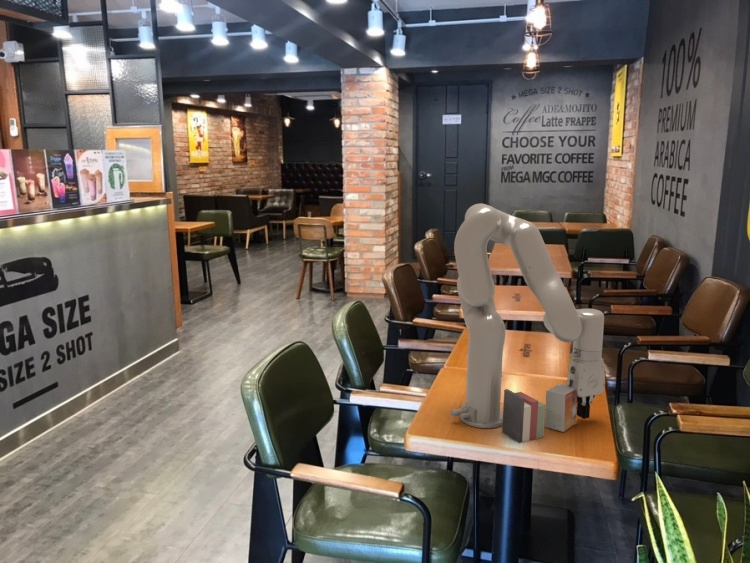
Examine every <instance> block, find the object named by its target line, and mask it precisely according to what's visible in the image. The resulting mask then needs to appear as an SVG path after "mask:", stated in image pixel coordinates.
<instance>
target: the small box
mask: <svg viewBox="0 0 750 563" xmlns="http://www.w3.org/2000/svg"><path fill="white" fill-rule="evenodd" d="M576 424H577V396H576V395H575V390H574V389H573V388H572V387H571V386H569V387H568V386H567V384H562V383H558V384H557V385H555V386H553V387H551V388H550V389H547V390H545V419H544V428H548V429H551V430H555V431H559V432H563V433H565V432H566V431H567V430H569V429H570V428H572V427H573V426H575V425H576Z"/></svg>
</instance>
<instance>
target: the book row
mask: <svg viewBox="0 0 750 563" xmlns="http://www.w3.org/2000/svg"><path fill="white" fill-rule="evenodd" d="M502 413H503V425H501V426H502V430H501V433H503V434H504V435H506V436H508V437H509V438H510V439H512V440H514V441H516V442H517V443H518V444H522V443H524V442H525V443H526V442H529V441H532V440H538V439H541V438H544V434H545V433H544V432H545V413H546V403H545V404H544V403H542V401H539V400H538V399H536V398H534V397H531V396H530V395H528V394H526V393H524V392H522V391H518V392H517V391H516V392H513V391H512V390H509V389H508V388H506V389H504V390H503V408H502Z"/></svg>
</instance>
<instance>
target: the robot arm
mask: <svg viewBox="0 0 750 563" xmlns="http://www.w3.org/2000/svg"><path fill="white" fill-rule="evenodd" d="M456 232H457V233H456V235H455V238H454V244H453V245H454V246H453V249H454V250H453V251H454V256H455V262H456V269H457V273H458V278H457V282H456V287H457V288H456V289H457V294H458V298H459V302H460V307H461V311H462V312H461V313H462V315H463V320H464V322H465V326H466V328H467V330H468V343H467V344H468V347H467V356H466V357H467V361H466V367H467V368H466V384H465V385H466V386H465V387H466V390H465V394H466V395H465V402H463V403H462V404H461V405H462V406H461V407H460V408H458V409H457V408H455V409H451V410H450V416H451V417H453V418H454V417H459V419H460V420H461V422H462V423H464V424H465V425H468V426H470V427H474V428H478V429H479V428H480V429H493V428H498V427H501V426H502V425H503V411H501V400H502V399H501V397H502V376H503V356H504V354H503V353H504V346H505V341H506V326H505V322H504V320H503V318H502V316H500V314H499V313H498V311H497V308H496V305H495V299H494V297H495V294H496V293H495V292H496V286H495V283H494V279H493V276H492V270H491V267H490V263H489V262H490V261H489V255H488V243H489V241H493V242H496V243H498V244H501V245H504V246H507V247H509V248H510V250H511V252H512V254H513V256H514V258H515V259H514V260H515V261H516V263H517V266H518V267H519V268H518V269H519V270H520V272H521V274H522V277H523V279H524V282H525V283H526V285H527V287H528V288H529V290H530V292H531V293H532V294H533V296H535V299H537V300H538V302H539V304H540V305H541V307H542V309H543V311H544V315H543V324H544V326H545V328H546V329H547V330H548V332H549V333H551V335H553V336H554V337H555V338H556V339H557V340H558V341H559V342H563V343H572V342H573V352H572V353H571V356H572V359H571V362H570V366H569V371H568V370H567V379H566V385H567V386H568V387H569V386H571V387H572V388H573V389H574V390H575V395H576V396H577V413H576V417H579V418H581V419H583V420H586V419H589V418H590V414H591V413H590V412H591V411H590V410H591V405H592V404H593V401H594V398H595V397H596V396H599V395H600V394H602V393H603V392H604V391H605V387H606V386H605V385H606V383H605V382H606V380H605V379H606V370H605V361H604V358H602V355H603V353H602V352H603V342H604V341H603V340H604V326H605V315H604V313H603V312H602V311H601V310H599V309H596V308H579V309H576V306H575V305H574V304H575V303H574V302H573V300H572V298H571V296H570V294H569V292H568V291H567V288H566V287H565V285H564V282H563V280H562V278H561V277H560V275H559V273H558V271H557V269H556V266H555V265H554V262H553V259H552V258H551V255H550V252H549V250H548V248H547V246H546V243H545V242H544V239H543V236H542V234H541V232H540V230H539V228H538V227H537V226H536V224H534V222H531V221H528V220H526V219H523V218H520V217H517V216H514V215H512V214H508V213H507V212H504V211H501V210H499V209H497V208H495V207H493V206H491V205H488V204H485V203H476V204H473V205H471V206H470V207H469V208H468V209H466V212H465V214H464V221H463V222H462V223H461V225H460V226H459V228H458V230H457V231H456Z"/></svg>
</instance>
